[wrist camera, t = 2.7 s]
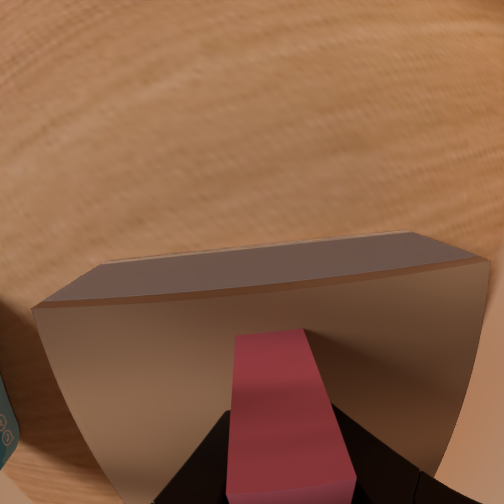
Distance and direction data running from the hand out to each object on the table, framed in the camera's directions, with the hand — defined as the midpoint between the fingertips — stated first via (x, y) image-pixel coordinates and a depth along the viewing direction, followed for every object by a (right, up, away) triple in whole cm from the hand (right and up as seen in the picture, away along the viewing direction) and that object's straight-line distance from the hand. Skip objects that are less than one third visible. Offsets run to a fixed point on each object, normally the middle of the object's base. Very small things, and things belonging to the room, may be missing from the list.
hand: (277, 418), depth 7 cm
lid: (+1, -5, +2) cm, 5 cm away
